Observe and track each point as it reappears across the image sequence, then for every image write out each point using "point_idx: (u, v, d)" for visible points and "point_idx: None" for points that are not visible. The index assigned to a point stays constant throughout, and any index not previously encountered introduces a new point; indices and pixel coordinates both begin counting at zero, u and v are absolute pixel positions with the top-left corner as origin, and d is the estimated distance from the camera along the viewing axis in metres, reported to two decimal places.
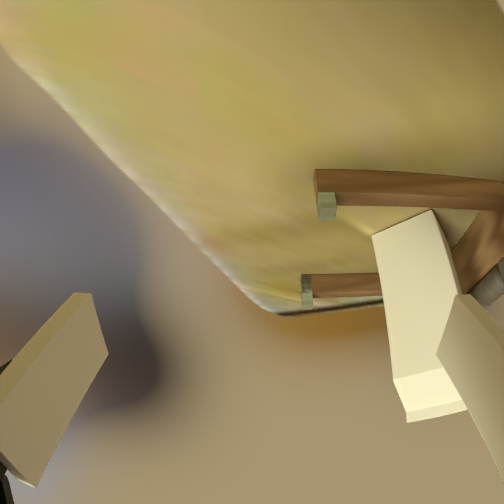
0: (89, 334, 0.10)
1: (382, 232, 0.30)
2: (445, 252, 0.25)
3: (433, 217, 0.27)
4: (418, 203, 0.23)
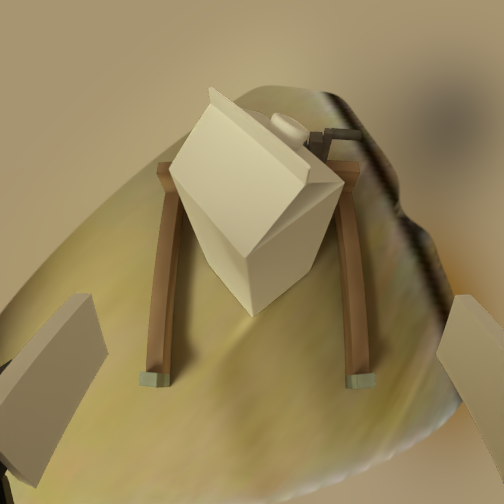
0: (89, 334, 0.10)
1: (243, 306, 0.29)
2: None
3: (206, 259, 0.30)
4: (162, 290, 0.28)
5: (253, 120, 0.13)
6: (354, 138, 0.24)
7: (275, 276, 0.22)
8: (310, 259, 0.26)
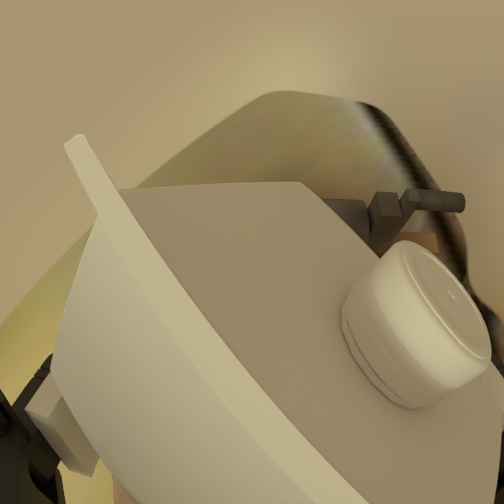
0: None
1: None
2: None
3: None
4: None
5: (338, 496, 0.01)
6: (453, 210, 0.12)
7: None
8: None
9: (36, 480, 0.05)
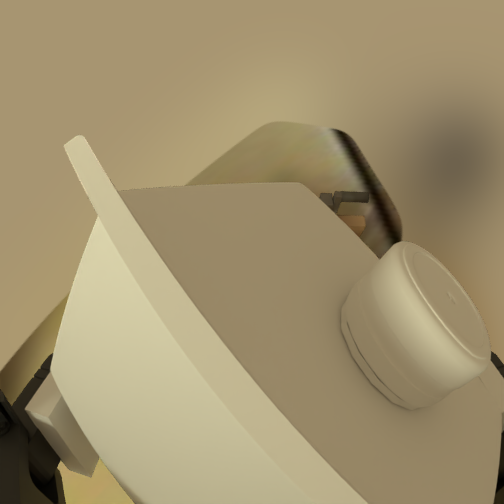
0: None
1: None
2: None
3: None
4: None
5: (337, 497, 0.01)
6: (362, 201, 0.26)
7: None
8: None
9: (36, 480, 0.05)
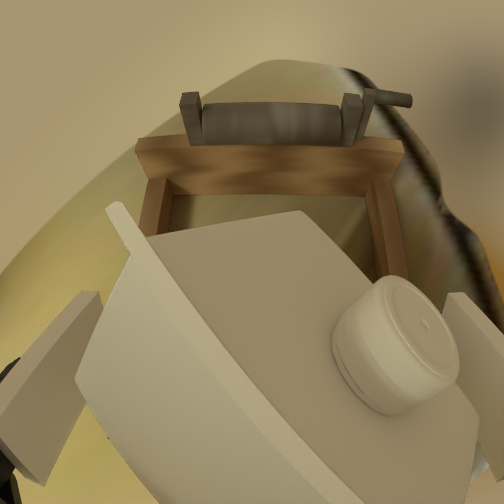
0: None
1: None
2: None
3: None
4: None
5: (322, 477, 0.02)
6: (403, 103, 0.16)
7: None
8: None
9: None
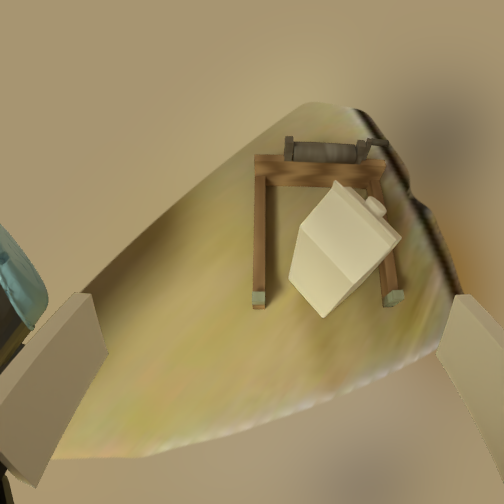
0: (89, 334, 0.10)
1: (316, 310, 0.40)
2: (291, 265, 0.37)
3: (289, 276, 0.41)
4: (261, 239, 0.42)
5: (365, 209, 0.24)
6: (384, 145, 0.38)
7: (351, 291, 0.33)
8: None
9: None
